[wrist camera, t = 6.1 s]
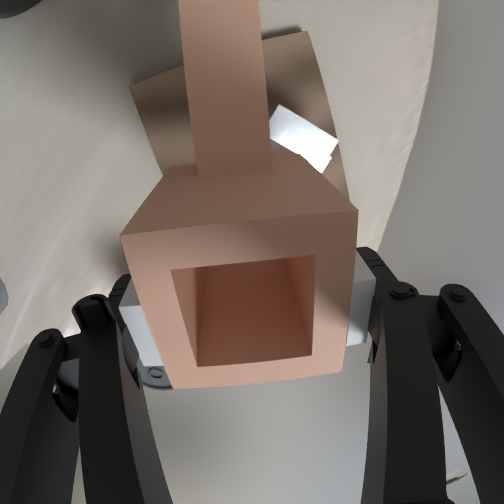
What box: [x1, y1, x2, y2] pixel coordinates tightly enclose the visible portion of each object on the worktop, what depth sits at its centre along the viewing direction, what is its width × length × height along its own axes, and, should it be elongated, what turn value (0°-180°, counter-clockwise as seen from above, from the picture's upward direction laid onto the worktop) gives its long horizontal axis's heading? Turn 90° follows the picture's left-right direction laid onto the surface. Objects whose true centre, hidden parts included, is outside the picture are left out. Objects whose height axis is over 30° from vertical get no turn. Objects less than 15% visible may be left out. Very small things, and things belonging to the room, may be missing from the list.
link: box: [120, 0, 358, 389], centre depth 10 cm, size 18×6×8 cm, turn 5°
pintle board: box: [129, 31, 350, 201], centre depth 26 cm, size 20×16×8 cm
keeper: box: [269, 104, 338, 172], centre depth 25 cm, size 3×5×7 cm, turn 61°
